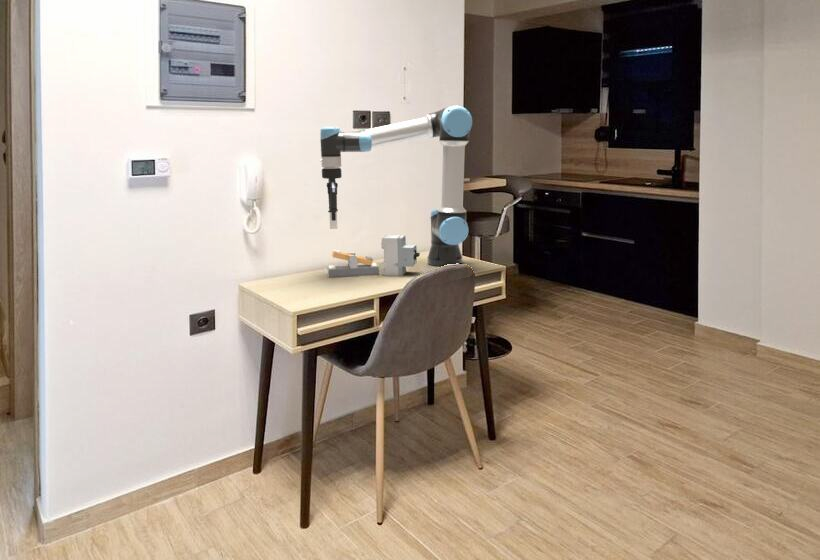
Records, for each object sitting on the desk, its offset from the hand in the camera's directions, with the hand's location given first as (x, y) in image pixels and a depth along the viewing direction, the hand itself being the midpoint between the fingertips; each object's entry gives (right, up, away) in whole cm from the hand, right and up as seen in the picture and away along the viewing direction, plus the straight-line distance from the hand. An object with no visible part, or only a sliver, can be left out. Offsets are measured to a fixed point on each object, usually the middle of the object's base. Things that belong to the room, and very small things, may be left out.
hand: (333, 228), depth 255 cm
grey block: (+7, -18, +5) cm, 20 cm away
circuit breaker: (+27, -18, +4) cm, 32 cm away
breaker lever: (+7, -13, +4) cm, 15 cm away
